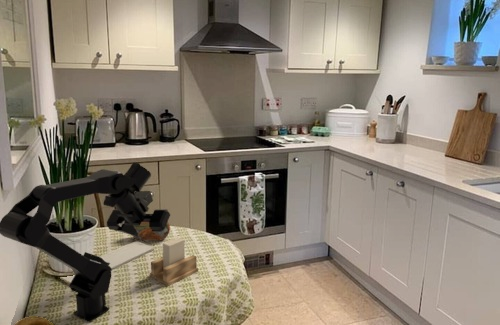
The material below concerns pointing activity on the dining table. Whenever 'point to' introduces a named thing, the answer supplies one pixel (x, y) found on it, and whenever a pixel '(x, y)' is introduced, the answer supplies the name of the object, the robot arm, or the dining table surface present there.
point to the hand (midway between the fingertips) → (149, 235)
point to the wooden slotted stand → (173, 270)
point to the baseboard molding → (121, 256)
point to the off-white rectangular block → (173, 251)
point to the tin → (149, 232)
